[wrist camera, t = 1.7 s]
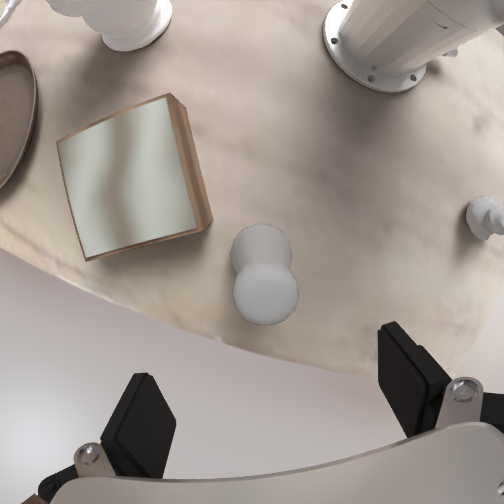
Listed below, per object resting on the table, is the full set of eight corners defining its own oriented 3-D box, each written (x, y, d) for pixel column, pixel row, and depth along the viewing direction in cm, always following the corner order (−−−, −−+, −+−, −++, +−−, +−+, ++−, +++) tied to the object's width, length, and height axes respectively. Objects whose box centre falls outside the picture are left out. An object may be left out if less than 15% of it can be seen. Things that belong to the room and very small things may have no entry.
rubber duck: (467, 184, 28) (510, 191, 21) (494, 207, 29) (535, 217, 21) (453, 224, 30) (495, 238, 22) (482, 243, 30) (521, 260, 22)
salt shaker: (222, 259, 31) (203, 317, 18) (248, 210, 29) (244, 237, 17) (272, 283, 31) (283, 352, 19) (299, 237, 30) (330, 281, 18)
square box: (185, 107, 27) (169, 91, 21) (212, 219, 30) (202, 231, 24) (86, 144, 27) (54, 141, 21) (112, 246, 30) (84, 262, 24)
